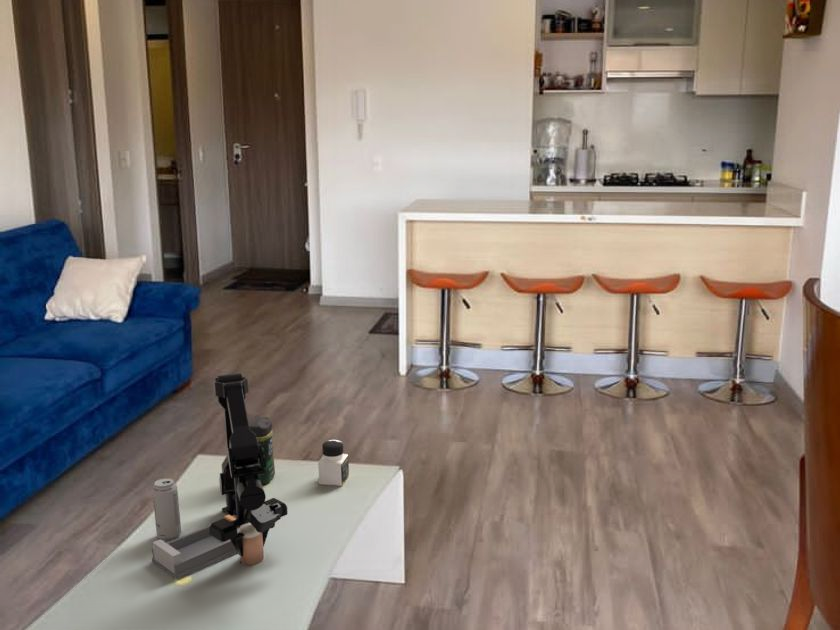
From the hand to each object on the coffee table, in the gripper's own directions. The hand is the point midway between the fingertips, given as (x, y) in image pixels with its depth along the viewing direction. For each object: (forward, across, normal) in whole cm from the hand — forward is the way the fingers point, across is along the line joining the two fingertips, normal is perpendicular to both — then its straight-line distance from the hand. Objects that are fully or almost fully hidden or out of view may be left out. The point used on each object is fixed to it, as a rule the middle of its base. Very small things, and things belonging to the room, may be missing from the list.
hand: (251, 551), depth 192 cm
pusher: (+1, +1, +11) cm, 11 cm away
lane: (+2, -5, +11) cm, 12 cm away
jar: (+2, 0, 0) cm, 2 cm away
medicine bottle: (+2, +42, +19) cm, 46 cm away
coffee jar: (+2, +28, +36) cm, 46 cm away
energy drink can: (+2, -8, +25) cm, 26 cm away
